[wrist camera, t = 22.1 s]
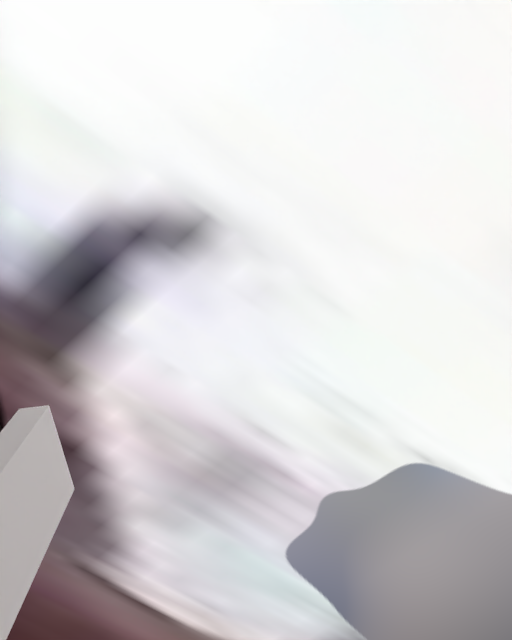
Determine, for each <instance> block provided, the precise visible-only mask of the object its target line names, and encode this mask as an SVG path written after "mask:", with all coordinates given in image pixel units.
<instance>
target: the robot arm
mask: <svg viewBox="0 0 512 640" xmlns="http://www.w3.org/2000/svg"><path fill="white" fill-rule="evenodd" d="M73 491H74V486H73V482H72V479H71V476H70V473H69V469H68V466H67V463H66V459H65V456H64V453H63V450H62V446H61V443H60V440H59V437H58V433H57V430H56V427H55V423H54V420H53V417H52V414H51V410H50V407H49V405H48V406H39V407H31V408H22V409H19V410H18V411H17V412H16V414H15V415H14V416H13V417H12V419H11V420H10V421H9V422H8V423H7V425H6V426H5V427H4V428H3V430H2V429H1V426H0V640H6V639H7V637H8V634H9V632H10V630H11V628H12V626H13V623H14V621H15V619H16V617H17V615H18V612H19V610H20V608H21V606H22V603H23V601H24V599H25V597H26V595H27V592H28V590H29V588H30V586H31V584H32V581H33V579H34V577H35V575H36V573H37V570H38V568H39V566H40V564H41V562H42V559H43V557H44V555H45V553H46V551H47V548H48V546H49V544H50V542H51V540H52V537H53V535H54V533H55V531H56V529H57V526H58V524H59V522H60V520H61V518H62V515H63V513H64V511H65V509H66V507H67V504H68V502H69V500H70V498H71V496H72V493H73Z"/></svg>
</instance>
